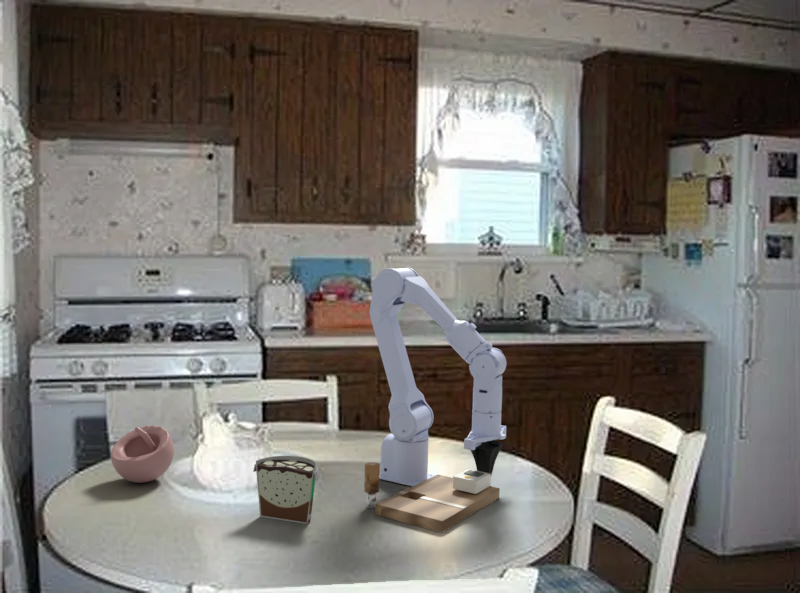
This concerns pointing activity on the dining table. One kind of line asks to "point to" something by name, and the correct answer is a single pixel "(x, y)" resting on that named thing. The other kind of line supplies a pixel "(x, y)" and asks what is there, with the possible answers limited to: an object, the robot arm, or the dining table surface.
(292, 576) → the dining table surface
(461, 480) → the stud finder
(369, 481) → the brown translucent cylinder
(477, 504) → the board
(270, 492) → the food container
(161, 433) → the mortar and pestle
